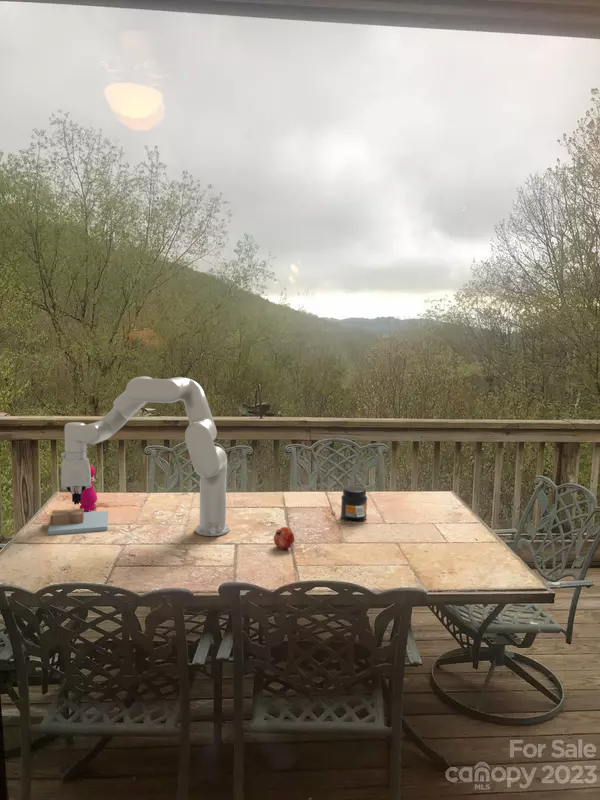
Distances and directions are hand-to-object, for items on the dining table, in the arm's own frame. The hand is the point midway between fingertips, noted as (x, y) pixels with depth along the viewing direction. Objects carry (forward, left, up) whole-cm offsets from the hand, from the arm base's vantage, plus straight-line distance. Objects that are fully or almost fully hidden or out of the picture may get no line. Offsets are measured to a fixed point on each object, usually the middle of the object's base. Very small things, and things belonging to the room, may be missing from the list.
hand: (76, 503), depth 206 cm
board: (0, -1, -8) cm, 8 cm away
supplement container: (-18, -106, -8) cm, 108 cm away
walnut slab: (0, -2, -5) cm, 5 cm away
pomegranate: (-43, -69, -8) cm, 82 cm away
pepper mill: (+19, -3, -8) cm, 21 cm away
